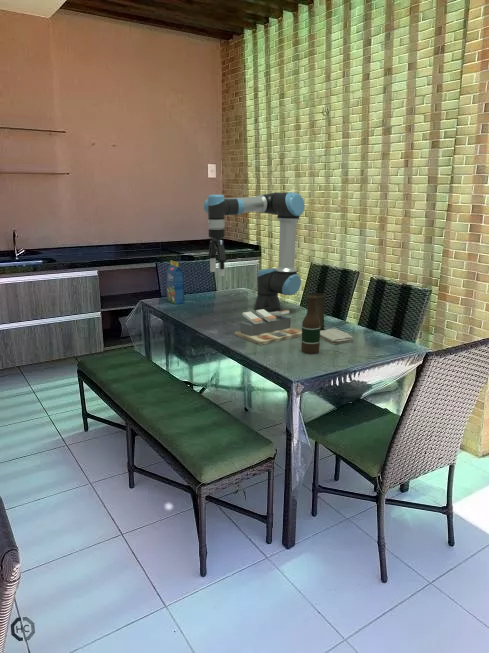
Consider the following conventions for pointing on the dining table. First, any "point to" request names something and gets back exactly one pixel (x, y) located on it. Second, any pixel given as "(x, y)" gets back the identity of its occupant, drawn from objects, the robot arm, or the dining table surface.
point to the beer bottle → (311, 328)
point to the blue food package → (175, 284)
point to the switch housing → (265, 326)
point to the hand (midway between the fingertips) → (217, 273)
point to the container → (320, 308)
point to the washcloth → (335, 336)
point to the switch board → (272, 336)
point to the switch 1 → (252, 317)
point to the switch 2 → (279, 313)
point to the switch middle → (266, 315)
